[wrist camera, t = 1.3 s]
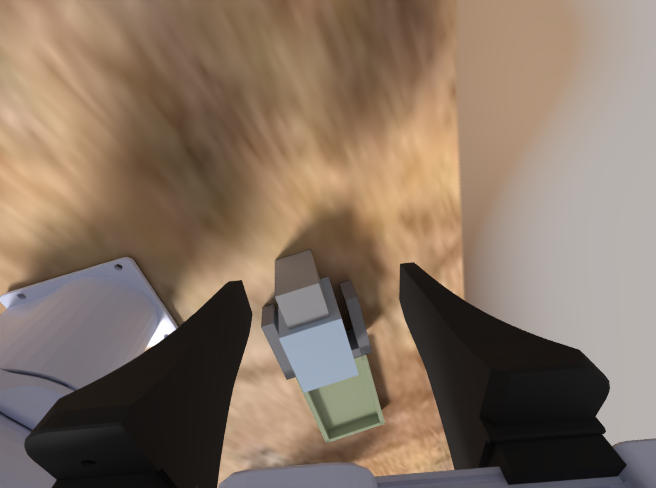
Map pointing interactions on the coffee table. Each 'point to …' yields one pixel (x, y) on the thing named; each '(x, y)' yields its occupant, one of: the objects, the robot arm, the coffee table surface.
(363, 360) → the tray
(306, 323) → the stepped two-tone block
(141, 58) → the coffee table surface
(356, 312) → the bay
